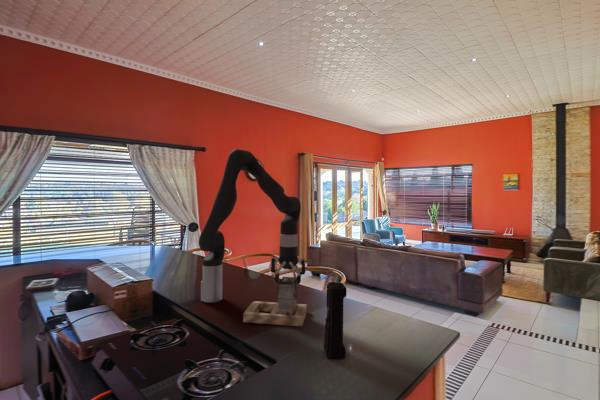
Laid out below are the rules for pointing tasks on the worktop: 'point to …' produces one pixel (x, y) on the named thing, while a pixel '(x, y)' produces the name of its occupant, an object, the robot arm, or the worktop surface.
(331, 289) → the portable radio
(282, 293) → the coffee box
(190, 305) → the worktop surface
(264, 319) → the wooden divided tray
